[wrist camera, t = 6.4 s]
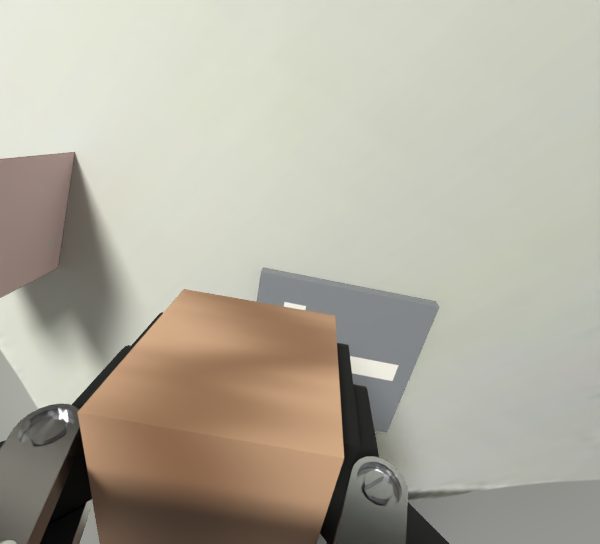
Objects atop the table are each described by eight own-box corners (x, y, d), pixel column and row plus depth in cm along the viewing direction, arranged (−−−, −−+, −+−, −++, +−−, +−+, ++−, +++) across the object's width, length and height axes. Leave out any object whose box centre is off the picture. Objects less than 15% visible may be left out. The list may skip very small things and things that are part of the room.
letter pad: (435, 301, 29) (439, 307, 28) (385, 424, 36) (386, 432, 35) (263, 267, 29) (261, 272, 28) (243, 397, 36) (241, 404, 35)
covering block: (335, 315, 11) (344, 458, 6) (308, 423, 13) (300, 590, 8) (183, 289, 11) (77, 412, 6) (182, 401, 13) (102, 557, 8)
